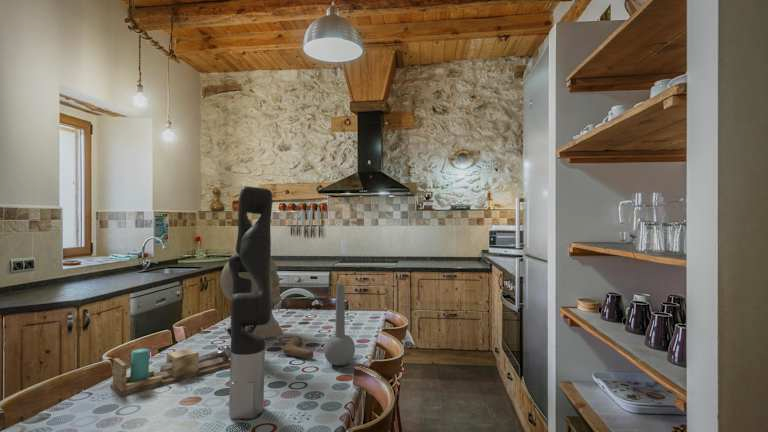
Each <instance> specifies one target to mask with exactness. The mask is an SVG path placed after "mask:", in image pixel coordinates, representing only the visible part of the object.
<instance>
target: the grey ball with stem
mask: <svg viewBox="0 0 768 432" xmlns="http://www.w3.org/2000/svg"><path fill="white" fill-rule="evenodd" d="M345 297H346V285H345V284H337V285H336V297H335V298H336V300H335V301H336V302H335V326H334V327H335V331H334V333H333V335H331V336H329V337H328V338H327V339H326V341H325V344H324V349H323V351H324V352H323V353H324V357H325V359H326V361H327V362H328V363H329V364H331V365H333V366H336V367H341V366H342V367H343V366H346V365H348V364H349V363H350V362H351V361H352V360H353V358H354V356H355V353H356V345H355V342H354V340H353V338H352V337H351V336H350V335H348V334H345V333H346V332H345V331H346V330H345V328H346V327H345V325H346V324H345V323H346V321H345V318H346V314H345V313H346V305H345V304H346V301H345V300H346V298H345Z"/></svg>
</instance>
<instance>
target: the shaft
mask: <svg viewBox="0 0 768 432" xmlns="http://www.w3.org/2000/svg"><path fill="white" fill-rule="evenodd" d="M230 357H231V347H230V345H229V346H228V345H225V346H222V347H221V349H220V350H219V351H214V352H211V353H210V352H209V353H205V354H202V355H199V358H198V363H201V362H205V361H209V360H213V359H217V358H222V359H223V360H228V359H229V360H230ZM169 370H172V362H171V363H167V364H166V363H164V364H163V363H162V364H160V365H159V371H160V372H165V371H169Z"/></svg>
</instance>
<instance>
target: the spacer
mask: <svg viewBox="0 0 768 432" xmlns="http://www.w3.org/2000/svg"><path fill="white" fill-rule="evenodd" d="M130 355H131V356H130V358H131V359H130V375H129V376H130V383H133V382H137V381H141V380H145V379H148V373H149V371H150V348H139V349H138V348H137V349H134V350H132V351H131V354H130Z"/></svg>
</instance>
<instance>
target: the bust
mask: <svg viewBox="0 0 768 432" xmlns="http://www.w3.org/2000/svg"><path fill="white" fill-rule="evenodd" d="M228 262H229V260H228V261H227V262H226V263H225V264H224V266H223V269H222V270H221V275H220V277H219V281H220V282H219V283H220V289H221V291H222V293H223V295H224V297H225V298H226V299H227V300H228V301H230V302H231V300H232V296H233V280H232V275H231V272H230V268H229V264H228ZM238 274H239V276H240V277H243V278H249V279H251V281H252V293H257V292H259V289H258V286H257V284H256V282H255V280H254V278H253V277H252V276H251V274H250V273H249V272H239V273H238ZM280 289H281V287H280V276H279V274H278V265H277V263H276V262H275V260H274V258H273V257H272V256H271V257H270V294H271V316H270V320H269V322H268V323H267V324H265V325H257V326H256V328H255V329H254V331H253V333H252V334H255V335H258V336H261V337H263V338H264V340H266V339H270V338H272V337H276V336H279V335H281V334H282V333H283V332H282V328H281V326H280V324H279V321H278V320H276V318H275V317H274V315H273V308H274V307H276V305H278V304H279V303H281V301H282V296H281V294H280ZM249 327H250V326H249Z"/></svg>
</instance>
